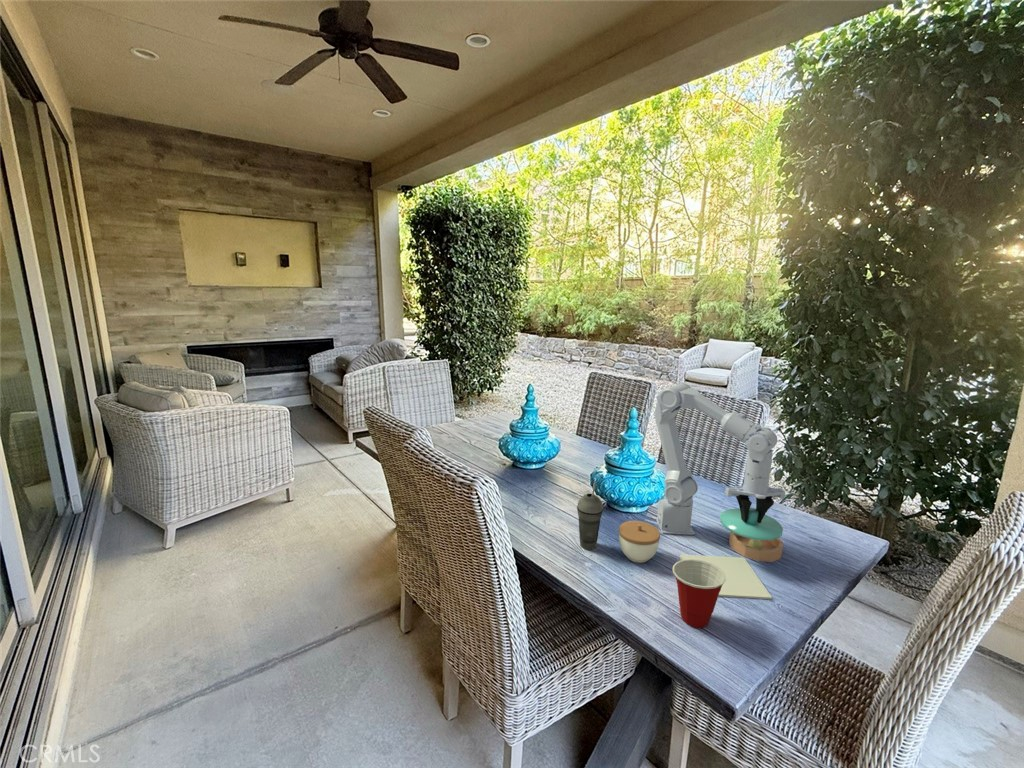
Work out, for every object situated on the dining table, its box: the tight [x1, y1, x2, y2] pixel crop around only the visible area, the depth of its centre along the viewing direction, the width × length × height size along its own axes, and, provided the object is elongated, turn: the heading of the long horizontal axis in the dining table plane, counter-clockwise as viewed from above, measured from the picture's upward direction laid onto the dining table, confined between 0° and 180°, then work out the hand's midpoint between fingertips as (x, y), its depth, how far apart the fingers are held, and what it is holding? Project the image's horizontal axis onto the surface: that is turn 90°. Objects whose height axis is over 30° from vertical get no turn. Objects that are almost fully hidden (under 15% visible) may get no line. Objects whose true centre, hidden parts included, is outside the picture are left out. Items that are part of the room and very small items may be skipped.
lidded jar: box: [618, 520, 661, 564], centre depth 124 cm, size 11×11×9 cm
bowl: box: [728, 531, 784, 563], centre depth 129 cm, size 13×13×4 cm
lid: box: [719, 507, 784, 540], centre depth 123 cm, size 15×15×4 cm
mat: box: [679, 554, 773, 600], centre depth 117 cm, size 17×16×1 cm
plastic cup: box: [672, 559, 726, 629], centre depth 101 cm, size 11×11×12 cm
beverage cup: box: [576, 480, 604, 551], centre depth 128 cm, size 7×7×20 cm
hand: (750, 520), depth 123 cm, fingers closed on lid, 3 cm apart
